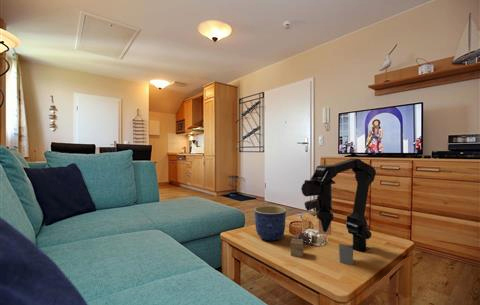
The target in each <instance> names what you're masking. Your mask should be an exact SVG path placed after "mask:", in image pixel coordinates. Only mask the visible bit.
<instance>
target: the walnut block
mask: <svg viewBox="0 0 480 305" xmlns="http://www.w3.org/2000/svg"><path fill="white" fill-rule="evenodd" d="M290 256H291V257H298V258H303V257H304V242H303V240H302V239H295V238H291V240H290Z"/></svg>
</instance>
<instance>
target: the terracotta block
mask: <svg viewBox="0 0 480 305" xmlns="http://www.w3.org/2000/svg"><path fill="white" fill-rule="evenodd" d="M318 235H325V236H326V235H327V236H332V222H331V223H330V225H329V227H328V229H327V232H324V231H323V227H322V222H321V220H320V219H318Z"/></svg>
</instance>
